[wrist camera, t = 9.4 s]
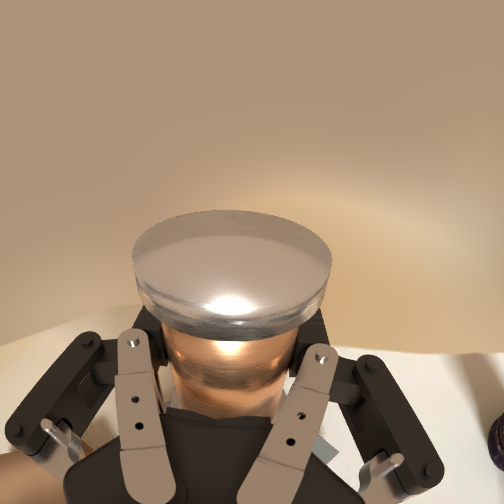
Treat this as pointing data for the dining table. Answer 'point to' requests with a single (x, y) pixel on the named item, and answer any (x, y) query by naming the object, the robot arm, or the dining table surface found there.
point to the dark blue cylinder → (497, 442)
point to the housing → (230, 304)
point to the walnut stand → (30, 480)
